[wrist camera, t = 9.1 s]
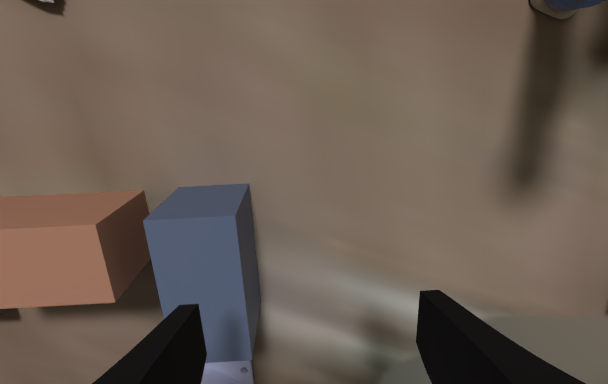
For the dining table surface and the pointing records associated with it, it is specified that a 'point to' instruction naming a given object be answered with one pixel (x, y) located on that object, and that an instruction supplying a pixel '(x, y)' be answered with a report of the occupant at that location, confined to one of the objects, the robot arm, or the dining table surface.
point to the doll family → (562, 6)
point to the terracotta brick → (70, 247)
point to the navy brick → (209, 264)
